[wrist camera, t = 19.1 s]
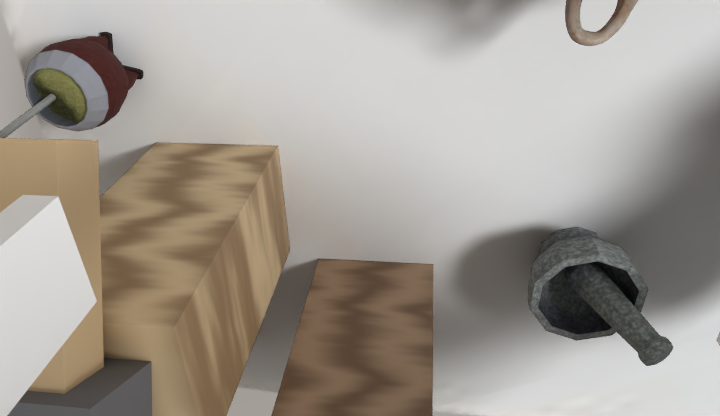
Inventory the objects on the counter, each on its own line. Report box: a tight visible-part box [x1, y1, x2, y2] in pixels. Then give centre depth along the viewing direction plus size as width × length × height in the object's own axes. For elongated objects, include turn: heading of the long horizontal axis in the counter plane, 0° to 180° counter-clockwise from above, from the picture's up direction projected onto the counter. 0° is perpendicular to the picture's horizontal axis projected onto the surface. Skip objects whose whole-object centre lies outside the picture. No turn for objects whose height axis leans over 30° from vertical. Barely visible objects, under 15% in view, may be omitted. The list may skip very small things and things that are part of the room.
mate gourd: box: [0, 32, 143, 138], centre depth 43 cm, size 8×8×15 cm
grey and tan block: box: [0, 138, 152, 416], centre depth 30 cm, size 8×21×6 cm, turn 2°
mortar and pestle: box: [528, 227, 673, 366], centre depth 48 cm, size 11×9×12 cm
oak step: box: [100, 143, 290, 416], centre depth 45 cm, size 12×12×24 cm
